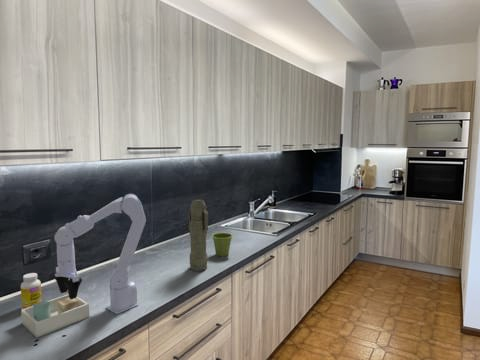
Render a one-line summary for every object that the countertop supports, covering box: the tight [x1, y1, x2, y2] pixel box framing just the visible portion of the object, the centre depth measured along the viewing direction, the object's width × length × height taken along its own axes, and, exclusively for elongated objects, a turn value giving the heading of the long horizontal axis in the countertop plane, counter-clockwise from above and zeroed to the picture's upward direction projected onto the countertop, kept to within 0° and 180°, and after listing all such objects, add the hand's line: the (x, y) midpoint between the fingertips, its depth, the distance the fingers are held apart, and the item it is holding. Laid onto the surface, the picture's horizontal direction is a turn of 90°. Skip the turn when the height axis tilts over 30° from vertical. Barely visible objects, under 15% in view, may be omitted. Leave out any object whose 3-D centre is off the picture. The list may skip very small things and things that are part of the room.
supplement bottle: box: [20, 272, 43, 310], centre depth 131 cm, size 7×7×13 cm
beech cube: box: [57, 298, 78, 314], centre depth 125 cm, size 5×5×5 cm
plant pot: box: [211, 232, 233, 257], centre depth 193 cm, size 12×12×11 cm
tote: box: [20, 294, 90, 339], centre depth 122 cm, size 18×14×5 cm
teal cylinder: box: [33, 300, 50, 322], centre depth 118 cm, size 5×5×7 cm
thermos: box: [188, 198, 209, 272], centre depth 171 cm, size 9×12×35 cm
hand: (68, 295), depth 125 cm, fingers open, 7 cm apart
